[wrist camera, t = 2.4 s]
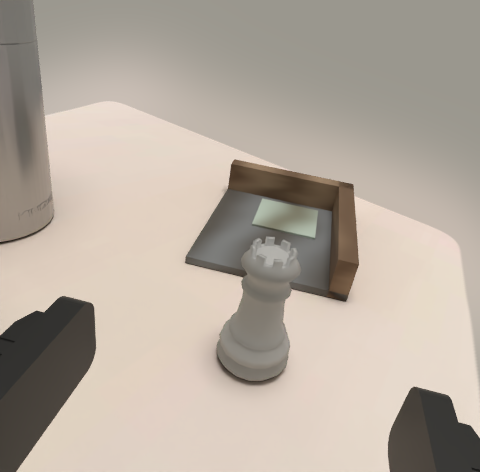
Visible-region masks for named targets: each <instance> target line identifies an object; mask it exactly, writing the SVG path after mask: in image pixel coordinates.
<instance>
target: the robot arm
mask: <svg viewBox="0 0 480 472" xmlns="http://www.w3.org/2000/svg"><path fill="white" fill-rule="evenodd" d="M53 213H54V208H53V197H52V187H51V177H50V165H49V155H48V145H47V135H46V125H45V115H44V106H43V96H42V85H41V75H40V66H39V55H38V45H37V36H36V26H35V16H34V6H33V0H0V242H3V241H8V240H13V239H17V238H20V237H24V236H27V235H29V234H31V233H34V232H36V231H38V230H39V229H41V228H43V227H44V226H45V225H47V224H48V223H49V222H50V221H51V219H52V217H53ZM95 350H96V338H95V316H94V306H93V304H92V303H89V302H85V301H81V300H78V299H74V298H70V297H66V296H62V297H60V298H58V299H57V300H56V301H55V302H54V303H53V304H52V305H51V306H50V307H49V308H48V309H47V310H46V311H45V312H40V311H35V312H33V313H31V314H29V315H27V316H25V317H23V318H21V319H19V320H17V321H16V322H14V323H13V324H12V325H11V326H10V327H9V328H8V329H7V330H6V331H5V332H4V333H3V334H2V335H1V336H0V472H16V471H17V470H18V468H19V467H20V465H21V464H22V463H23V461H24V460H25V458H26V457H27V455H28V454H29V453H30V451H31V450H32V448H33V447H34V446H35V444H36V443H37V441H38V440H39V439H40V437H41V436H42V434H43V433H44V432H45V430H46V429H47V427H48V426H49V425H50V423H51V422H52V420H53V419H54V418H55V416H56V415H57V413H58V412H59V410H60V409H61V408H62V406H63V405H64V403H65V402H66V401H67V399H68V398H69V396H70V395H71V394H72V392H73V391H74V389H75V388H76V387H77V385H78V384H79V382H80V381H81V380H82V378H83V377H84V375H85V374H86V373H87V371H88V369H89V368H90V366H91V364H92V361H93V358H94V355H95ZM388 459H389V468H390V472H480V438H479V437H478V435H477V434H476V433H475V431H474V430H473V428H472V427H471V426H470V425H466V424H463V423H459V422H458V420H457V417H456V413H455V410H454V406H453V403H452V400H451V398H450V397H449V396H448V395H445V394H441V393H437V392H433V391H429V390H426V389H422V388H418V387H413V388H411V390H410V391H409V393H408V395H407V397H406V399H405V401H404V403H403V405H402V407H401V409H400V411H399V413H398V415H397V418H396V420H395V422H394V424H393V426H392V428H391V431H390V435H389V441H388Z"/></svg>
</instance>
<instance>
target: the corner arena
mask: <svg viewBox="0 0 480 472" xmlns="http://www.w3.org/2000/svg"><path fill="white" fill-rule="evenodd" d="M266 236H267V237H275V241H274V244H275V245H279V246H281V241H282V240H283V239H284V240H286V241H288V242H290V243H291V245H290V249H289V250H290V251H291V248H296V249H297V251H298V255H297V260H298V262H299V264H300V267H301V272H300V275H299V276H298V277H297V278H295V279H294V280H293V281H291V282H289V284H290V287H291V288H292V289H296V290H301V291H305V292H309V293H313V294H317V295H321V296H325V297H330V298H334V299H338V300H342V301H346V300H347V297H348V294H349V292H350V289H351V286H352V283H353V280H354V277H355V274H356V271H357V268H358V265H359V259H358V245H357V231H356V217H355V203H354V188H353V184H349V183H344V182H340V181H335V180H330V179H325V178H321V177H316V176H311V175H306V174H301V173H297V172H292V171H287V170H282V169H278V168H273V167H268V166H263V165H258V164H254V163H249V162H244V161H239V160H234V161H233V162H232V164H231V171H230V178H229V186H228V190H227V191H226V193H225V194H224V196H223V198H222V199H221V201H220V202H219V204H218V206H217V207H216V209H215V211H214V212H213V214H212V215H211V217H210V219H209V220H208V222H207V223H206V225H205V227H204V228H203V230H202V231H201V233H200V235H199V236H198V238H197V239H196V241H195V243H194V244H193V246H192V247H191V249H190V251H189V252H188V254H187V255H186V261H185V263H189V264H193V265H197V266H201V267H205V268H210V269H214V270H218V271H222V272H226V273H230V274H234V275H238V276H243V277H244V276H246V275H247V272H246V271H245V269H244V268H243V266H242V262H241V258H242V256H243V255H244V253H245V252H247V251H248V250H249V249H250V246H251V245H252V244H253V240H255V239H257V238H260V239H261V240H262V243H261V244H265V240H266Z"/></svg>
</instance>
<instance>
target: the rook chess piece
mask: <svg viewBox="0 0 480 472" xmlns="http://www.w3.org/2000/svg"><path fill="white" fill-rule="evenodd" d="M274 241H275V237H267V236H266V240H265V244H261V243H262V240H261V239H260V238H257V239H255V240H253V244H252V245H251V246H250V249H249V250H248V251H247V252H245V253H244V255H243V256H242V258H241V262H242V266H243V268H244V269H245V271H246V272H247V275H246V276H244V278H243V280H242V281H241V283H242V288H243V296H242V299H241V302H240V305H239V307H238V310H237V312H236V313H235V314H233V315H232V317H231V319H229V320H228V321H227V322H226V323H225V325H224V327H223V329H222V331H221V333H220V339H219V341H218V343H217V355H218V357H219V359H220V360H221V362H222V364H223V365H224V367H225V368H226V369H227V370H229V371H230V372H231V373H233V374H234V375H235V376H237V377H239V378H242V379H245V380H248V381H263V380H266V379H269V378H272V377H274V376H277V375H278V374H279V373H280V372H281V371H282V370H283V369H284V368H285V367H286V364H287V360H288V352H289V348H290V342H289V338H288V335H287V332H286V329H285V325H284V323H283V316H284V304H285V300H286V299H287V298H288V297H289V296H290V294H291V291H292V290H291V287H290V284H289V282H291V281H293V280H294V279H295V278H297V277H298V276H299V275H300V272H301V267H300V264H299V262H298V260H297V255H298V251H297V249H296V248H291V251H290V250H289V249H290V245H291V243H290V242H288V241H286V240H284V239H283V240H282V241H281V246H279V245H275V244H274Z"/></svg>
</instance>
